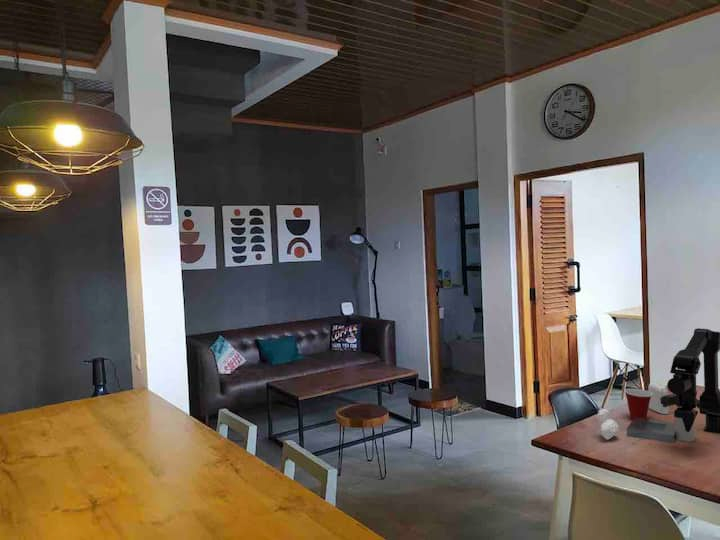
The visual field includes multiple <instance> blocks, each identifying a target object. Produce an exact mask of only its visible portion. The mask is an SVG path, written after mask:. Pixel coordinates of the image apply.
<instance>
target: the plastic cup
mask: <svg viewBox="0 0 720 540" xmlns="http://www.w3.org/2000/svg"><path fill="white" fill-rule="evenodd" d="M624 393H625V396H626V401H627V407H628V411H629V417H630V419H631V421H633V419H634V418H635V417H637V418H644V419H648V418H647V417H648V416H647V415H648V412H649V402H650V399H651V396H652V395H653V394H652V393H651V392H649V391H648V390H646V389H645V390H644V389H641V388H625V389H624Z"/></svg>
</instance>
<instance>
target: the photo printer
mask: <svg viewBox="0 0 720 540" xmlns="http://www.w3.org/2000/svg"><path fill="white" fill-rule="evenodd" d="M647 391H649V392H651V393H652V394H653V395H652V396H651V399H650V402H649V407H648V409H650V410H652V411H654V412H656V413H659V414H662V415H668V414H669V413H670V407H669V406H667V407H663V405H662V404H661V400H660V398H661V397H662V396H665V395H669V389H668V387H667V386H665V385H663V384H662V383H659V382H650V383H649V384H648V387H647Z"/></svg>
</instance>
